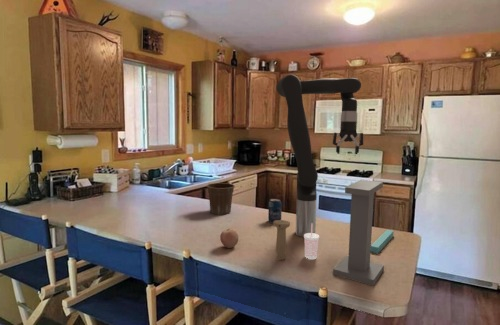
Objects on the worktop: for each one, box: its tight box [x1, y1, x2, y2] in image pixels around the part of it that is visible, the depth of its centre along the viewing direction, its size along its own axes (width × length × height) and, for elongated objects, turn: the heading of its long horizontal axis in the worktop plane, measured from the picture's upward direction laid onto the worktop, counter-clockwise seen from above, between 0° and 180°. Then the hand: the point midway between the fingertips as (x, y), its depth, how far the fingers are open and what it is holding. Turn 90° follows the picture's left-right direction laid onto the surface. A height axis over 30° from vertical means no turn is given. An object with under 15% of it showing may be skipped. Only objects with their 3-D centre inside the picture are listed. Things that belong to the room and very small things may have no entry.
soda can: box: [267, 198, 283, 224], centre depth 178 cm, size 7×7×12 cm
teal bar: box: [371, 229, 395, 255], centre depth 148 cm, size 26×3×3 cm, turn 143°
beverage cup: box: [303, 223, 320, 260], centre depth 132 cm, size 6×6×14 cm
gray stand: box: [332, 179, 385, 286], centre depth 119 cm, size 18×14×32 cm
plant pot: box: [206, 182, 235, 216], centre depth 195 cm, size 16×16×16 cm
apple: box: [219, 227, 239, 249], centre depth 142 cm, size 8×8×8 cm
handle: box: [272, 219, 291, 261], centre depth 130 cm, size 5×6×15 cm
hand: (347, 153), depth 163 cm, fingers open, 8 cm apart
